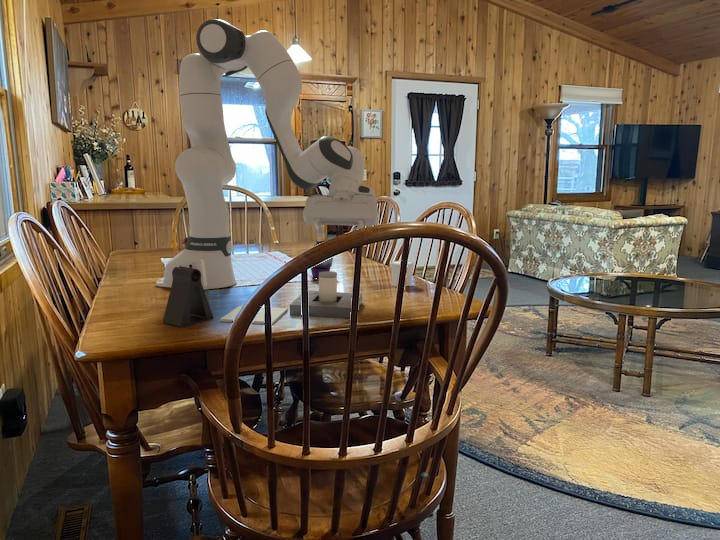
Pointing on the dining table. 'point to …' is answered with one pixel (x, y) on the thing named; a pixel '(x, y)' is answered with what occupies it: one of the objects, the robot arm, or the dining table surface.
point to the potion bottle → (321, 265)
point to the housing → (325, 306)
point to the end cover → (328, 286)
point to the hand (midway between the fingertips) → (337, 235)
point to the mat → (260, 318)
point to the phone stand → (186, 299)
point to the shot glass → (396, 270)
